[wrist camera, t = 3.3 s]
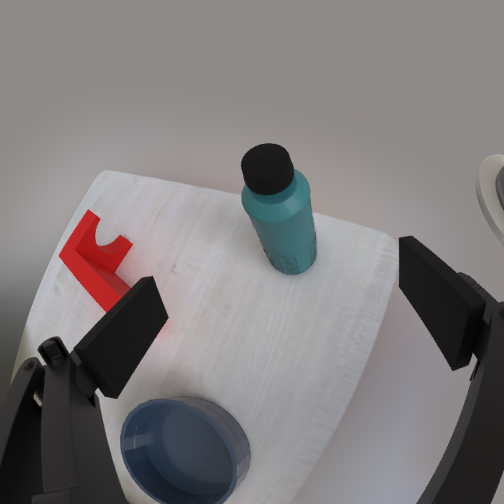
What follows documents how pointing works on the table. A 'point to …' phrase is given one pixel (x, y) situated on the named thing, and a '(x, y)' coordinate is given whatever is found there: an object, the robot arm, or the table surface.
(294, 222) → the beverage bottle
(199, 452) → the bowl
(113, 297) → the bracket
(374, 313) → the table surface
